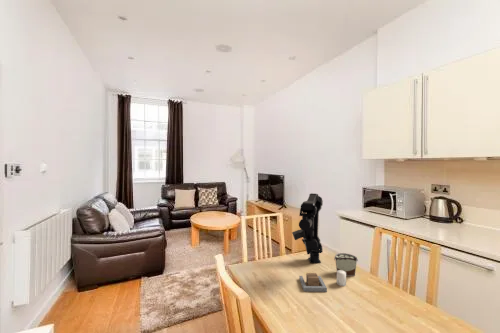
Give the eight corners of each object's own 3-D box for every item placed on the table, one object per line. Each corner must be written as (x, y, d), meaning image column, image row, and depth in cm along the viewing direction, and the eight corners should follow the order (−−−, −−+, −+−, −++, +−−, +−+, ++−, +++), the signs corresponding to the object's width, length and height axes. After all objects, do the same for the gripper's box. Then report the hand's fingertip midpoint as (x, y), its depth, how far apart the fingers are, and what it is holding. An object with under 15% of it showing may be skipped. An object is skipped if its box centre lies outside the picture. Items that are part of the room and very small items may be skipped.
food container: (353, 270, 130) (353, 253, 130) (357, 275, 124) (357, 257, 124) (331, 269, 131) (331, 252, 131) (334, 274, 125) (334, 256, 125)
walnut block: (306, 282, 117) (306, 272, 117) (316, 282, 117) (316, 272, 117) (308, 287, 112) (308, 277, 112) (318, 287, 112) (318, 277, 112)
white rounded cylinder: (335, 281, 118) (335, 270, 118) (344, 281, 118) (344, 270, 118) (338, 286, 114) (338, 274, 113) (347, 286, 113) (347, 274, 113)
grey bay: (299, 279, 120) (299, 275, 120) (320, 279, 120) (320, 276, 120) (303, 291, 109) (303, 287, 109) (326, 291, 109) (326, 288, 109)
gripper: (290, 221, 133) (290, 247, 134) (296, 230, 115) (296, 261, 115) (310, 221, 133) (310, 247, 133) (318, 230, 114) (318, 261, 114)
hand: (308, 254), depth 124 cm, fingers closed
